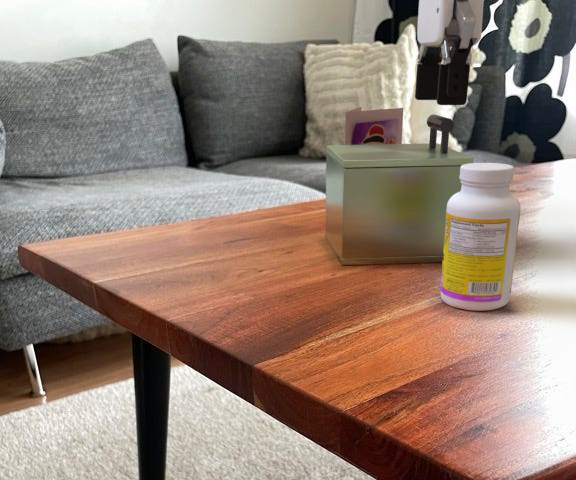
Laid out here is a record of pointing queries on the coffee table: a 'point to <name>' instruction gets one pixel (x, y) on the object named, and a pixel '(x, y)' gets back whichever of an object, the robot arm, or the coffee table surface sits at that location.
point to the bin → (388, 212)
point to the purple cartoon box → (374, 126)
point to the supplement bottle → (480, 239)
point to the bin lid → (403, 151)
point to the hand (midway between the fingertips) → (439, 102)
